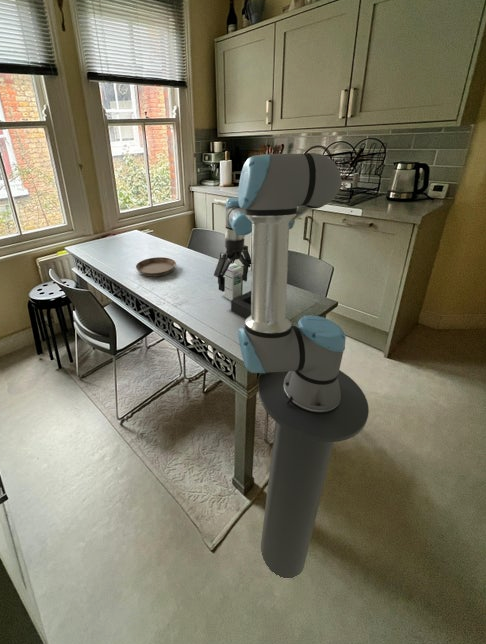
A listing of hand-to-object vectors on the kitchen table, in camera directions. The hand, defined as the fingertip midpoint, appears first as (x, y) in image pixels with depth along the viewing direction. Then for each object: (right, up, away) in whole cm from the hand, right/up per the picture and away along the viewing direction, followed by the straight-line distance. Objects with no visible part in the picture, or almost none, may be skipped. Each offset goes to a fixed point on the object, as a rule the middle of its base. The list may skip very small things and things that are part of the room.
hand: (233, 285), depth 134 cm
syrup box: (0, -5, +2) cm, 6 cm away
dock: (+7, -10, -9) cm, 15 cm away
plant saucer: (-36, +6, +30) cm, 47 cm away
